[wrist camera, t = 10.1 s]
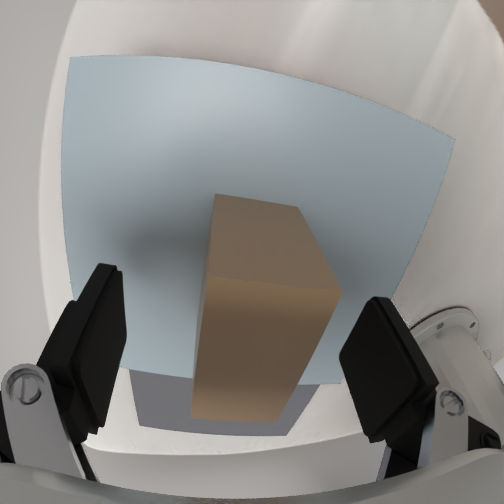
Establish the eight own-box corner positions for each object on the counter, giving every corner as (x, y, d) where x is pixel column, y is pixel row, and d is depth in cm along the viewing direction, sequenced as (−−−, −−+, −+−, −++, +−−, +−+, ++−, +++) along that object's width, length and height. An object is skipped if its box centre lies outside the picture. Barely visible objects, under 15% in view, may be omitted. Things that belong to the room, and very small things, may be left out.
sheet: (447, 136, 10) (545, 180, 5) (337, 376, 17) (361, 452, 13) (77, 58, 8) (-26, 54, 3) (91, 352, 15) (64, 434, 10)
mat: (343, 338, 24) (345, 341, 24) (285, 433, 33) (286, 435, 33) (124, 317, 21) (122, 320, 21) (140, 422, 30) (139, 425, 30)
